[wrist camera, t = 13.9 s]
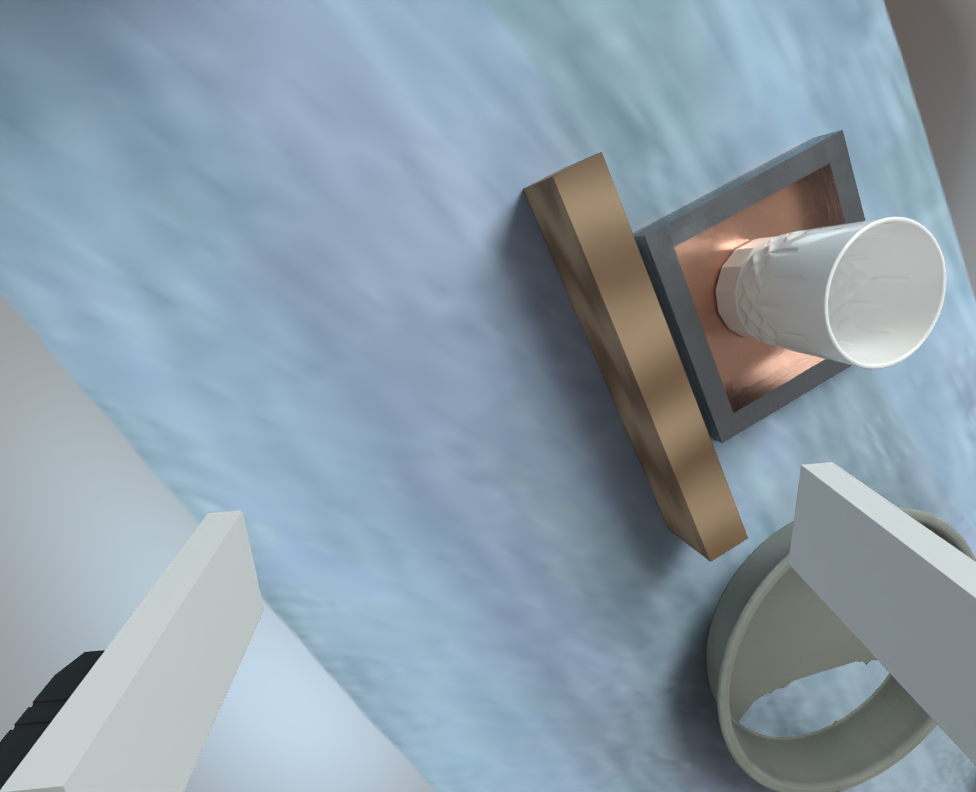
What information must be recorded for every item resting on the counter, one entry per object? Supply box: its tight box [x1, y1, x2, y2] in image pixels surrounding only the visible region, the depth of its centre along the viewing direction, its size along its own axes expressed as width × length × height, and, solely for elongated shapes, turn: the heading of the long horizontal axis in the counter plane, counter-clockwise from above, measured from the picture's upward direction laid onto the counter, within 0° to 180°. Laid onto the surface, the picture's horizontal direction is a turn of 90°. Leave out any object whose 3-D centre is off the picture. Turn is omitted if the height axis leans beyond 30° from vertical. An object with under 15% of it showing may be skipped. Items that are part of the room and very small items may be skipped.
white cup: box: [715, 217, 946, 369], centre depth 36 cm, size 8×8×10 cm
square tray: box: [633, 130, 865, 443], centre depth 40 cm, size 15×15×2 cm
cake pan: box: [706, 508, 976, 792], centre depth 47 cm, size 25×25×4 cm
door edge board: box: [523, 152, 748, 562], centre depth 37 cm, size 26×3×5 cm, turn 26°
